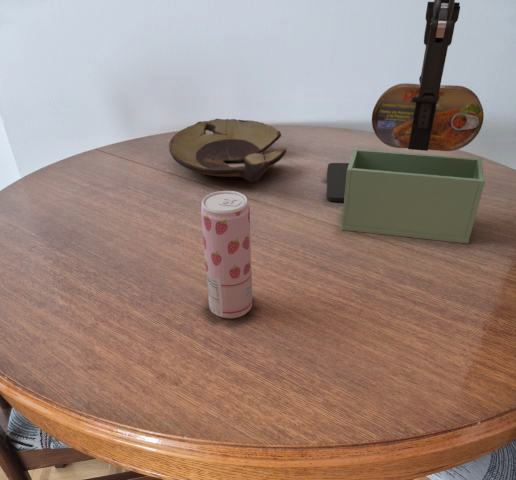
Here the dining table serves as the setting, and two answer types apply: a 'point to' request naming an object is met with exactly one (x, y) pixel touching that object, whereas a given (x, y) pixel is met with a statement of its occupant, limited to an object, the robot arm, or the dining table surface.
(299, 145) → the dining table surface
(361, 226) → the waste bin
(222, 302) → the beverage can
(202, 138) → the broken brown bowl
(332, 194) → the phone
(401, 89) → the tin
